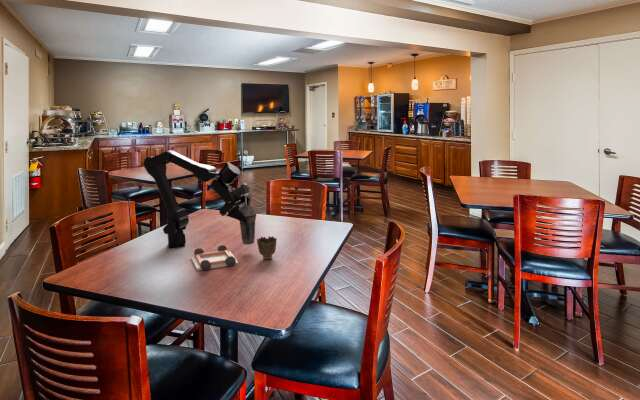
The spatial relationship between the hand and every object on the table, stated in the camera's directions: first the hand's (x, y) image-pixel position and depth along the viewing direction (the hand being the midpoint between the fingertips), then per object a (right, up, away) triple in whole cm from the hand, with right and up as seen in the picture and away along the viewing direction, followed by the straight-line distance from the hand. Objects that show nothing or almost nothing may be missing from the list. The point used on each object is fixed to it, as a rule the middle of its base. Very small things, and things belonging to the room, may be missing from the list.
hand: (250, 219), depth 167 cm
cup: (+8, -15, -6) cm, 18 cm away
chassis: (-12, -15, -8) cm, 21 cm away
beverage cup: (-1, -10, +2) cm, 10 cm away
